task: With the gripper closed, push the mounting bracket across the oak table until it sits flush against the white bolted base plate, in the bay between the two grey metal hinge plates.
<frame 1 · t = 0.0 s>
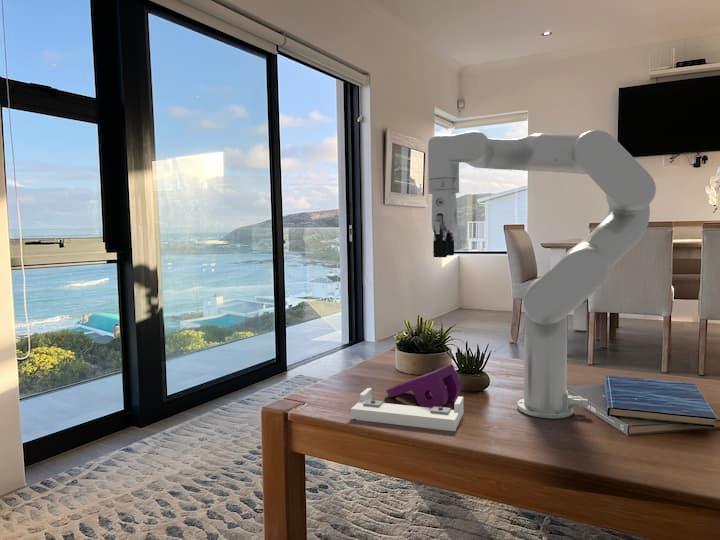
hand: (444, 256, 127), 37 cm above the table, tool pointing down, fingers open, 9 cm apart
mounting bracket: (419, 402, 130), on the table
white bolted base plate: (404, 420, 116), on the table
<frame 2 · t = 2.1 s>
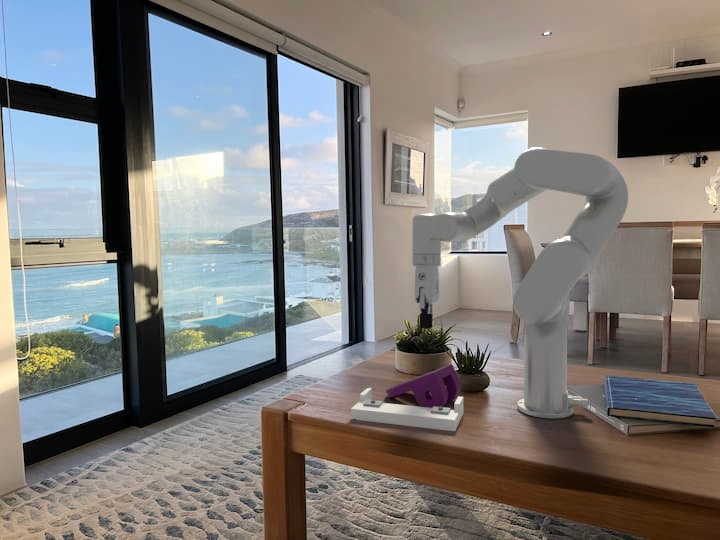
hand: (426, 327, 138), 17 cm above the table, tool pointing down, fingers closed
nothing on the table moved.
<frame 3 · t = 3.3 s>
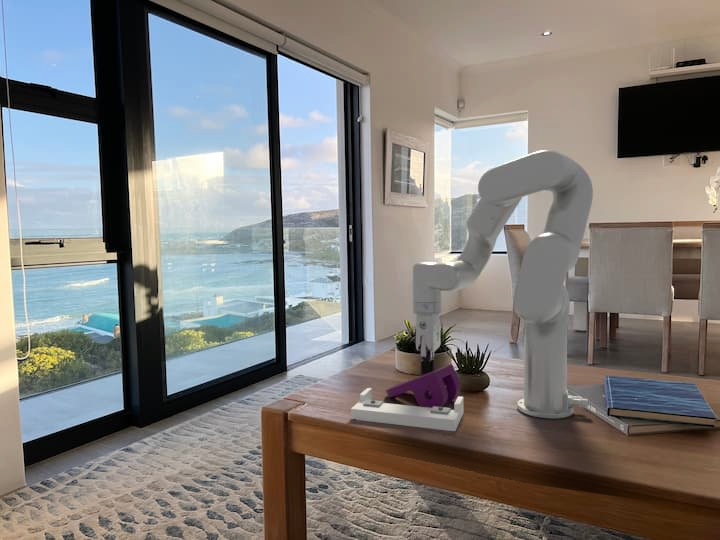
hand: (427, 374, 139), 4 cm above the table, tool pointing down, fingers closed
nothing on the table moved.
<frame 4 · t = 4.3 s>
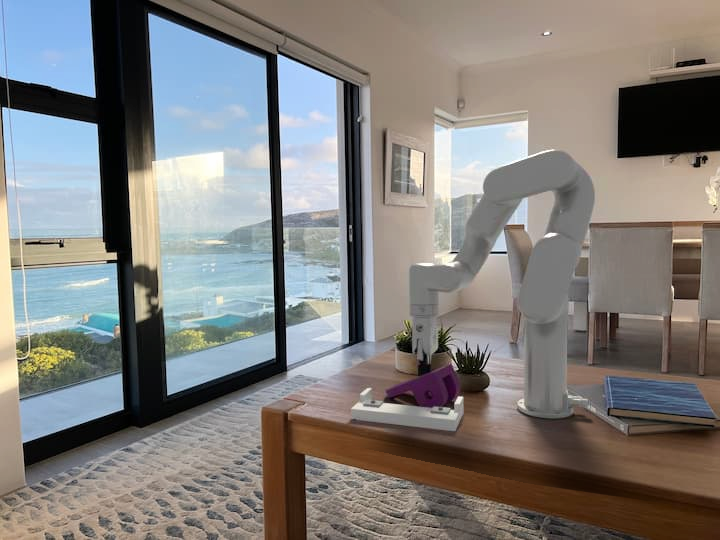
hand: (424, 378, 135), 4 cm above the table, tool pointing down, fingers closed
mounting bracket: (418, 402, 130), on the table, touching gripper
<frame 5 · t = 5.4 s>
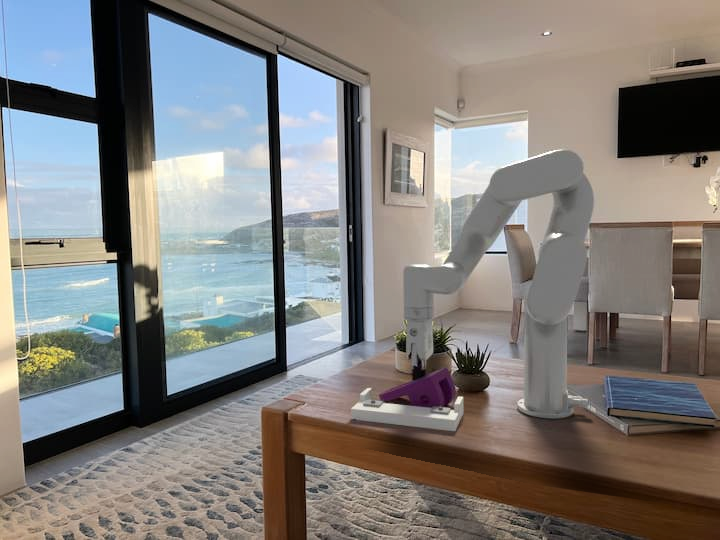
hand: (419, 384, 130), 4 cm above the table, tool pointing down, fingers closed
mounting bracket: (413, 407, 127), on the table
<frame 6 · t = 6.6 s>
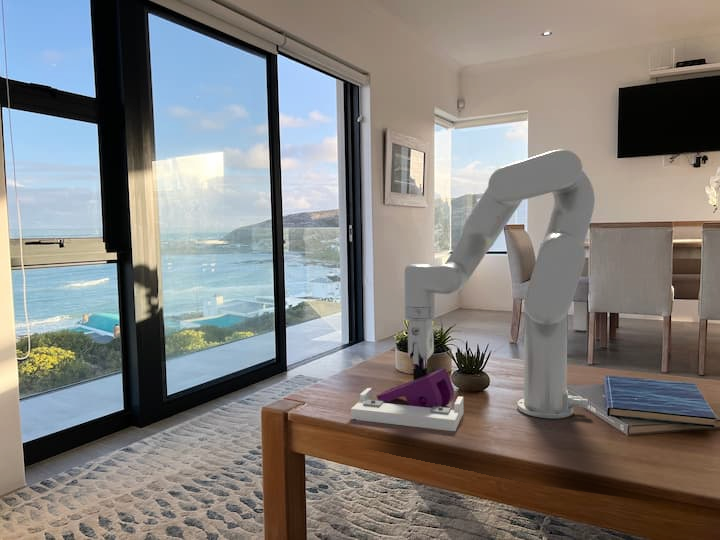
hand: (420, 383, 131), 4 cm above the table, tool pointing down, fingers closed
nothing on the table moved.
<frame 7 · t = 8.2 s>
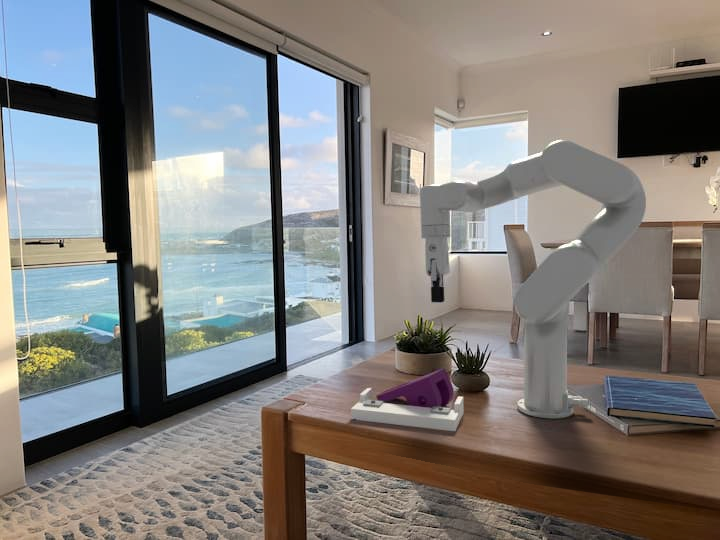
hand: (437, 301, 135), 24 cm above the table, tool pointing down, fingers closed
nothing on the table moved.
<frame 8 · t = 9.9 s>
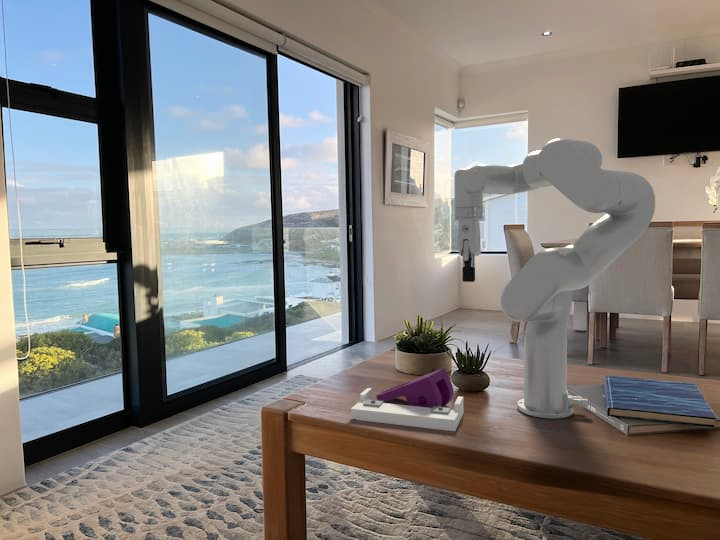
hand: (468, 281, 140), 29 cm above the table, tool pointing down, fingers closed
nothing on the table moved.
at the end: mounting bracket inside the target area (2.6 cm from its centre), on the table; mounting bracket tilted 0°; mounting bracket moved 4.8 cm from its start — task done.
